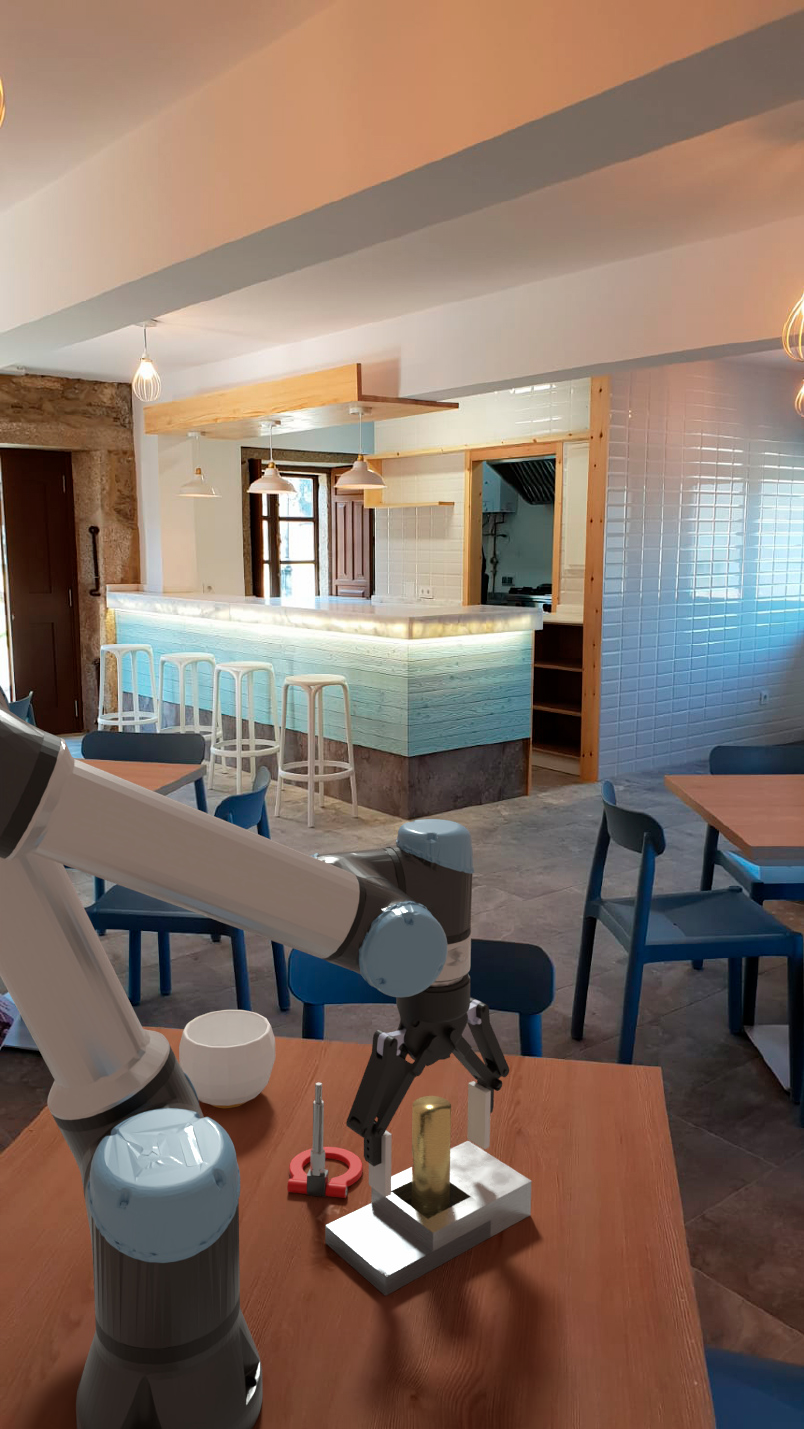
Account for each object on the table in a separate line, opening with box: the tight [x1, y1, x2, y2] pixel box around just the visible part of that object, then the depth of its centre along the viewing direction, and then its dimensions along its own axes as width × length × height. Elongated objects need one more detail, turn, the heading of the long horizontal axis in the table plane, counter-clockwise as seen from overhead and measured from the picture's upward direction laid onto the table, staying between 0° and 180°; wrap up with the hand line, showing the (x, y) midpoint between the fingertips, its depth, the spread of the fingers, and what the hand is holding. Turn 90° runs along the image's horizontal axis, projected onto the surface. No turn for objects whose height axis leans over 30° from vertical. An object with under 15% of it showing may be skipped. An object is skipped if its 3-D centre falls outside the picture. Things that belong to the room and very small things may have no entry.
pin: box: [411, 1095, 452, 1219], centre depth 109 cm, size 4×4×14 cm
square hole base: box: [324, 1140, 532, 1297], centre depth 110 cm, size 20×10×4 cm, turn 129°
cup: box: [178, 1009, 276, 1109], centre depth 136 cm, size 12×12×10 cm
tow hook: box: [286, 1082, 364, 1199], centre depth 119 cm, size 8×13×9 cm
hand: (431, 1165), depth 109 cm, fingers open, 13 cm apart
